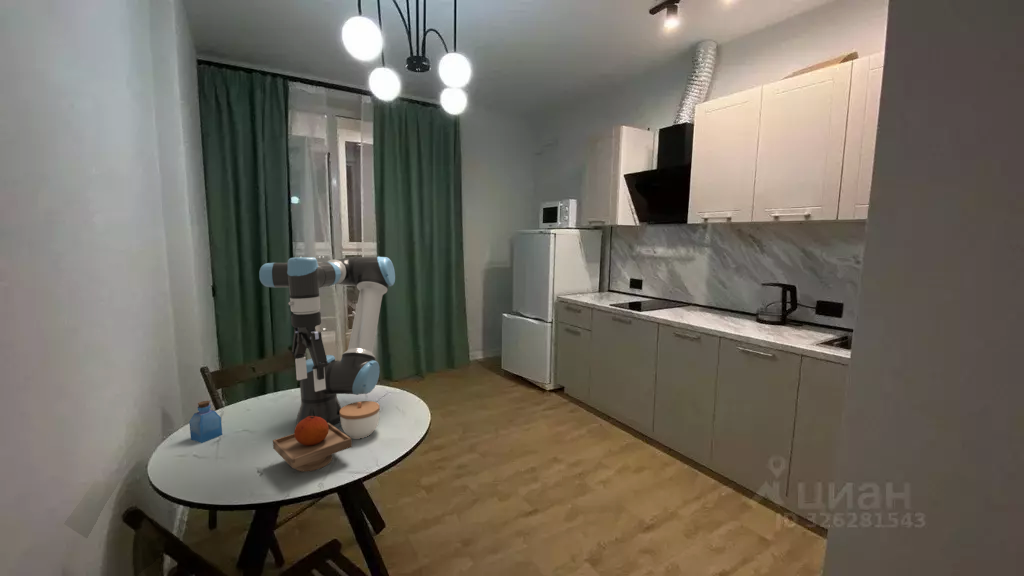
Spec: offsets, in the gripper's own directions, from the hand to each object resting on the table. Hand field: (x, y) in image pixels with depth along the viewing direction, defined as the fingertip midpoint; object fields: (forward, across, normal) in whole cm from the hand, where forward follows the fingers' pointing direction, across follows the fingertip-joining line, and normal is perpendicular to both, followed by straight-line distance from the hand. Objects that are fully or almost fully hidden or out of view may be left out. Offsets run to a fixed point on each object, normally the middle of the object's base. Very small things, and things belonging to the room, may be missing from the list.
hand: (310, 384), depth 117 cm
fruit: (+17, +1, -1) cm, 17 cm away
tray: (+23, +1, -1) cm, 23 cm away
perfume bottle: (+24, -42, -19) cm, 52 cm away
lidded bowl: (+24, -6, +17) cm, 30 cm away
